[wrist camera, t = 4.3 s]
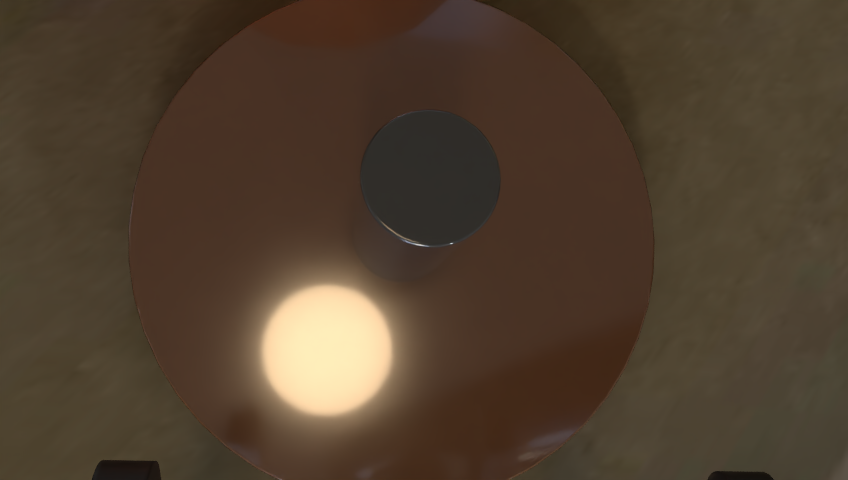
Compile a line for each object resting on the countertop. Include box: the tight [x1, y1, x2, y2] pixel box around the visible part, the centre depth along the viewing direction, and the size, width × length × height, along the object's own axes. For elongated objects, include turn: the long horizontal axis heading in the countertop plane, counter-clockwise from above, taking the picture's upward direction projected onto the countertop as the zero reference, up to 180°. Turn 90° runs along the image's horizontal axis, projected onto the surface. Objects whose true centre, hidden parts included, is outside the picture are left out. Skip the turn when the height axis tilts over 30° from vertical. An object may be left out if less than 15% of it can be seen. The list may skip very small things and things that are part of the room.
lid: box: [129, 0, 654, 480], centre depth 19 cm, size 14×14×8 cm
